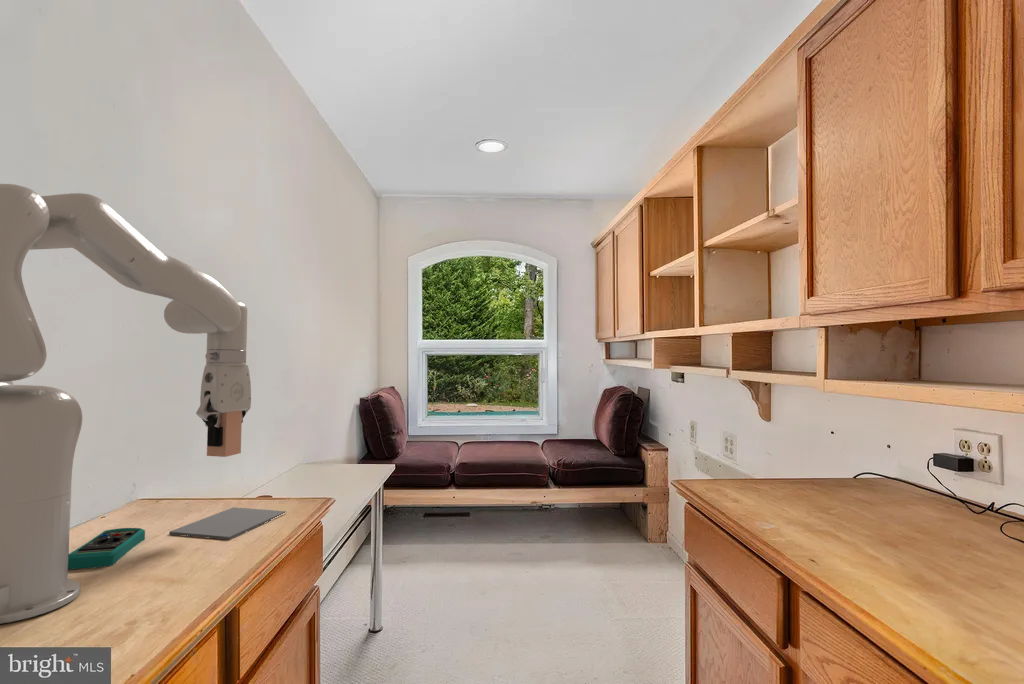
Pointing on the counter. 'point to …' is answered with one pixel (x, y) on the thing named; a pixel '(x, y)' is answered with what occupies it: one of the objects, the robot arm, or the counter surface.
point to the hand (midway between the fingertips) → (224, 443)
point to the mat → (227, 523)
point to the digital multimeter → (105, 548)
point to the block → (228, 435)
